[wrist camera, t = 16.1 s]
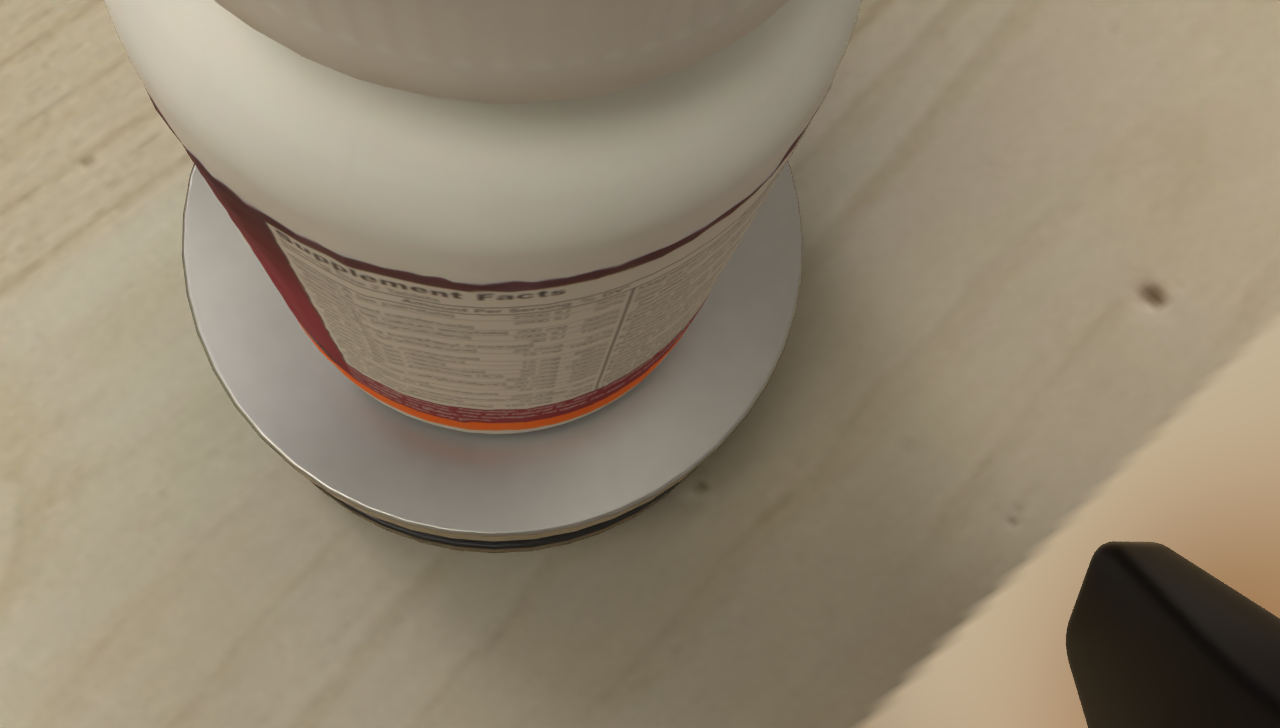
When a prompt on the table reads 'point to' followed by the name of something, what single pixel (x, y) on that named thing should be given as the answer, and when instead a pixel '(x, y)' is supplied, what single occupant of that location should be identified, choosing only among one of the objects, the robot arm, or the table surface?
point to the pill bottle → (490, 175)
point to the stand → (493, 463)
